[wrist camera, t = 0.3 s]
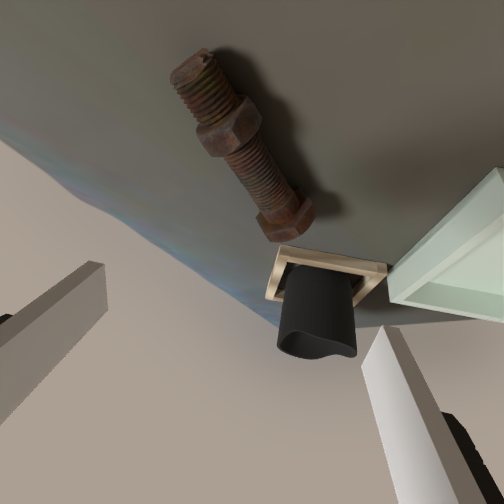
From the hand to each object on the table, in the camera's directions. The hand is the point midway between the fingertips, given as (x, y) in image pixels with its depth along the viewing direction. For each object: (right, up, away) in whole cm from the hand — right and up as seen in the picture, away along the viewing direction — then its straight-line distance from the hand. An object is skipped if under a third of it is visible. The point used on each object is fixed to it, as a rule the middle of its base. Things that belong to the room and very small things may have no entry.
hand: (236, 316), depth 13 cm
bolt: (+1, +12, +10) cm, 16 cm away
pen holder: (+10, 0, +26) cm, 28 cm away
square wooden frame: (+10, -1, +26) cm, 28 cm away
